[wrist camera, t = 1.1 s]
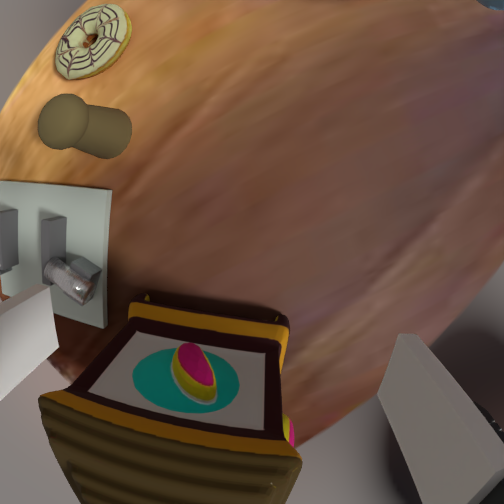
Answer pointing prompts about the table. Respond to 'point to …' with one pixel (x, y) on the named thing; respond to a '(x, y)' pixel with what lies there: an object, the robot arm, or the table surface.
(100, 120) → the cork
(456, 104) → the table surface
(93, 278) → the shaft
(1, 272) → the shaft
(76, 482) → the decorative lantern
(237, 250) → the table surface
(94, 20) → the decorated donut
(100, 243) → the rig
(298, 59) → the table surface
